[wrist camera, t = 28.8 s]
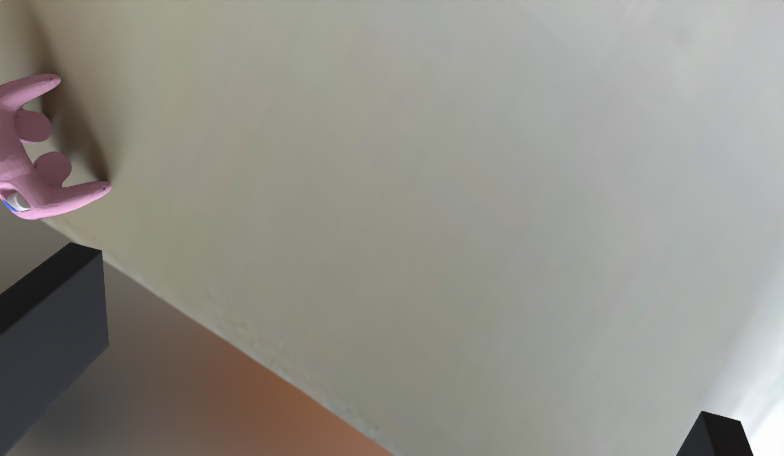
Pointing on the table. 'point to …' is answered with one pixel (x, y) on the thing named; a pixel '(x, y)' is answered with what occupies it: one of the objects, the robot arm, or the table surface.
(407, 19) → the table surface
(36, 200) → the video game controller
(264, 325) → the table surface
